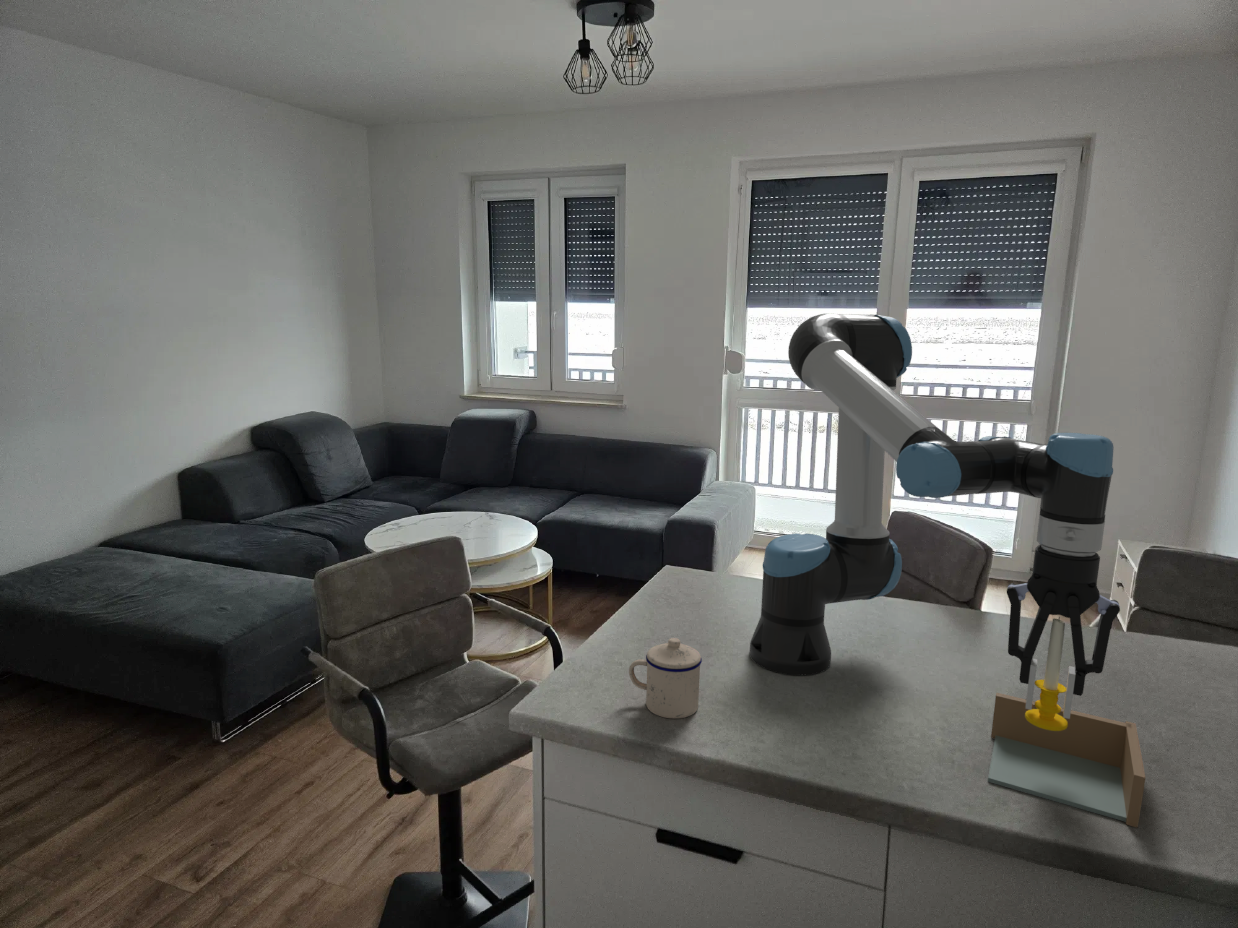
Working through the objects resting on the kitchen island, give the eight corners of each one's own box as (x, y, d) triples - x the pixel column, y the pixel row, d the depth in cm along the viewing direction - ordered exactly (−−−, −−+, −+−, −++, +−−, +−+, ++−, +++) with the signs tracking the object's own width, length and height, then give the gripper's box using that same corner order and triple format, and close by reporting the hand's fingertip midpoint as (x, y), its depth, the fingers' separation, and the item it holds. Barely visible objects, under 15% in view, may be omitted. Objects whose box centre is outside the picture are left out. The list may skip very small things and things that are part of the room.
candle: (1054, 712, 106) (1067, 609, 103) (1075, 731, 101) (1089, 624, 98) (1017, 711, 106) (1030, 608, 103) (1036, 730, 101) (1050, 622, 98)
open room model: (982, 782, 102) (987, 735, 101) (991, 732, 115) (996, 690, 114) (1137, 827, 93) (1145, 777, 92) (1128, 767, 106) (1135, 723, 105)
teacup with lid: (703, 697, 125) (706, 632, 123) (694, 724, 116) (697, 655, 114) (635, 686, 128) (637, 623, 126) (621, 712, 119) (622, 644, 117)
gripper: (995, 545, 100) (978, 704, 104) (1147, 566, 92) (1121, 739, 96) (999, 533, 107) (983, 683, 111) (1141, 552, 98) (1118, 714, 102)
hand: (1047, 709), depth 103 cm, fingers closed on candle, 4 cm apart
